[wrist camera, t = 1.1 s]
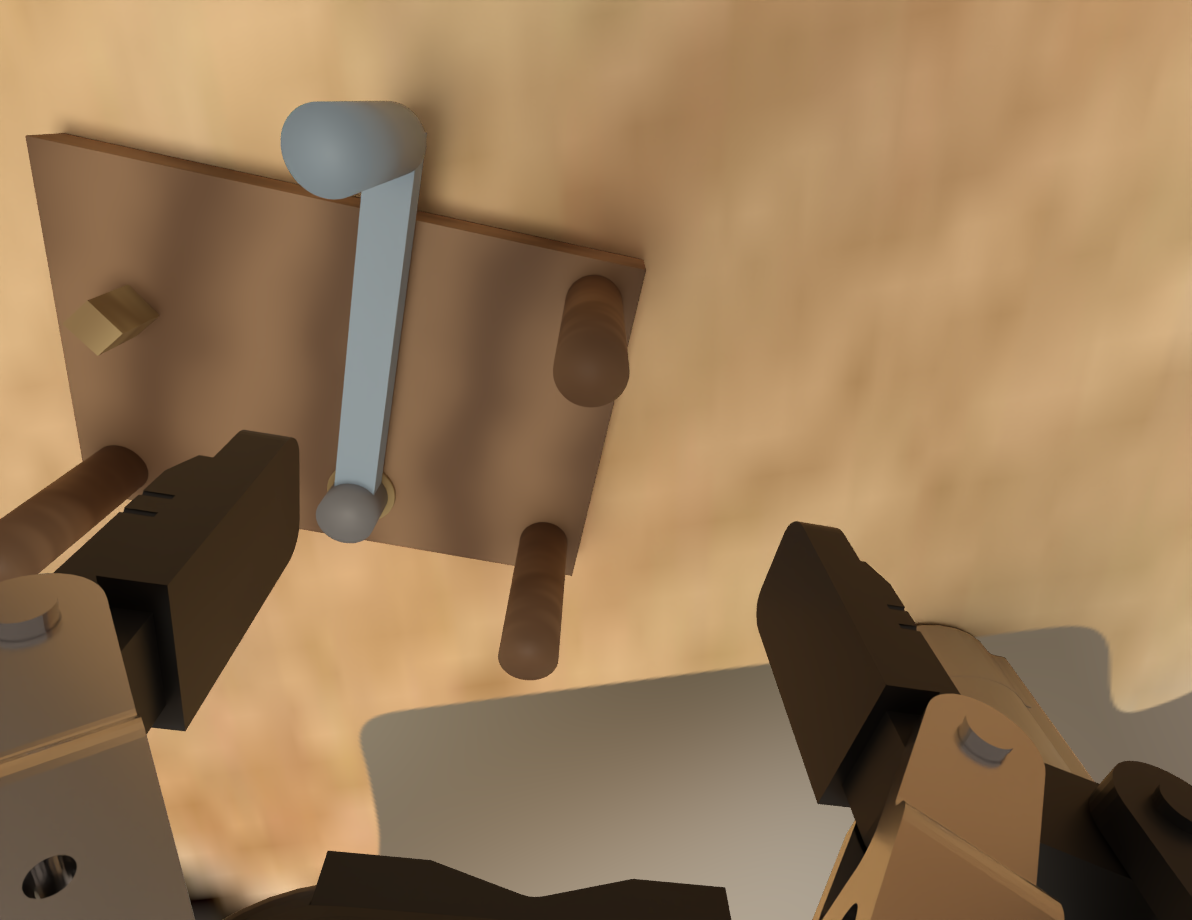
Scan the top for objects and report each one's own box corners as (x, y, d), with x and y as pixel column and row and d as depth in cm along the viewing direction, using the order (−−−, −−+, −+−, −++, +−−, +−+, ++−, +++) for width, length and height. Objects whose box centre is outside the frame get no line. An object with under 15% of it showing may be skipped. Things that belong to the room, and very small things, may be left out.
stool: (643, 259, 29) (661, 329, 20) (573, 552, 37) (564, 696, 28) (63, 133, 27) (-199, 149, 18) (114, 472, 34) (-54, 600, 26)
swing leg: (384, 521, 33) (328, 631, 26) (331, 510, 33) (259, 617, 26) (441, 112, 24) (379, 117, 18) (369, 91, 24) (278, 89, 17)
